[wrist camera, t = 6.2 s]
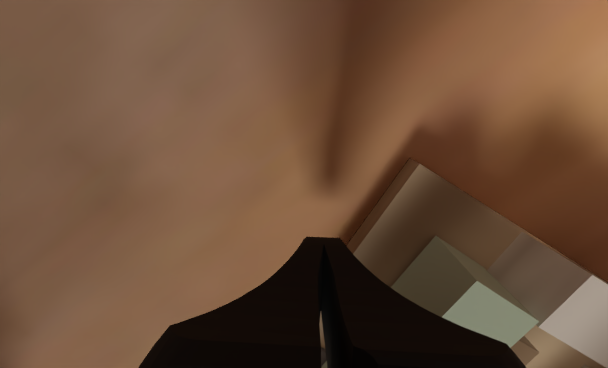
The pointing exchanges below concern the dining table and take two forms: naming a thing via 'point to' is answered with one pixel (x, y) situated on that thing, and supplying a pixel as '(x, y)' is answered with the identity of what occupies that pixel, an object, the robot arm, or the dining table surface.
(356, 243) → the cream shallow tray
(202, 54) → the dining table surface
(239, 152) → the dining table surface
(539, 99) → the dining table surface
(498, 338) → the green rectangular block
